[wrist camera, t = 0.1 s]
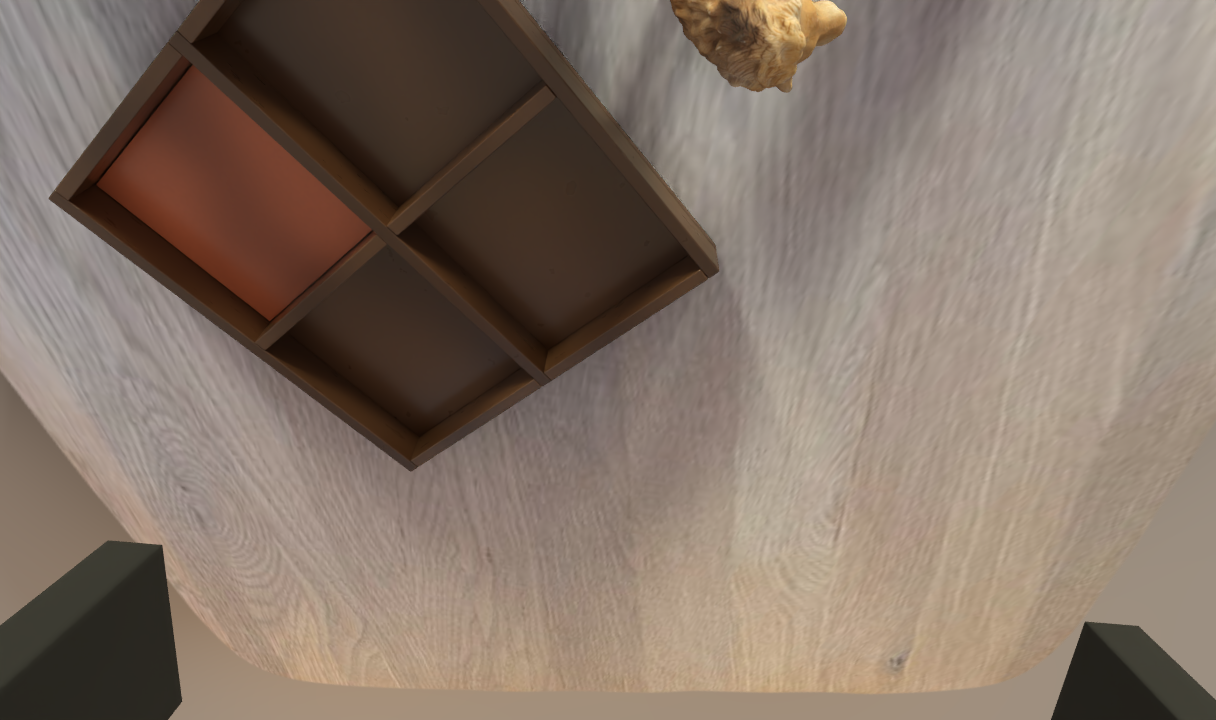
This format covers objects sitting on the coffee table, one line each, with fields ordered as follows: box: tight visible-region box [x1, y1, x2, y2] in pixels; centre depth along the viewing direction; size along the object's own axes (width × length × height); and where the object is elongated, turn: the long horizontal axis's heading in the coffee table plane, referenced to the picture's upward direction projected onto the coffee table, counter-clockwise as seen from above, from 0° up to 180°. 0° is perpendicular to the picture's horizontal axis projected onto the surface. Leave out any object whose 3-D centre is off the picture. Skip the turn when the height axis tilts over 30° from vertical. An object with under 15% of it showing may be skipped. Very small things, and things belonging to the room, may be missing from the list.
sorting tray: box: [49, 0, 719, 471], centre depth 35 cm, size 23×23×3 cm
